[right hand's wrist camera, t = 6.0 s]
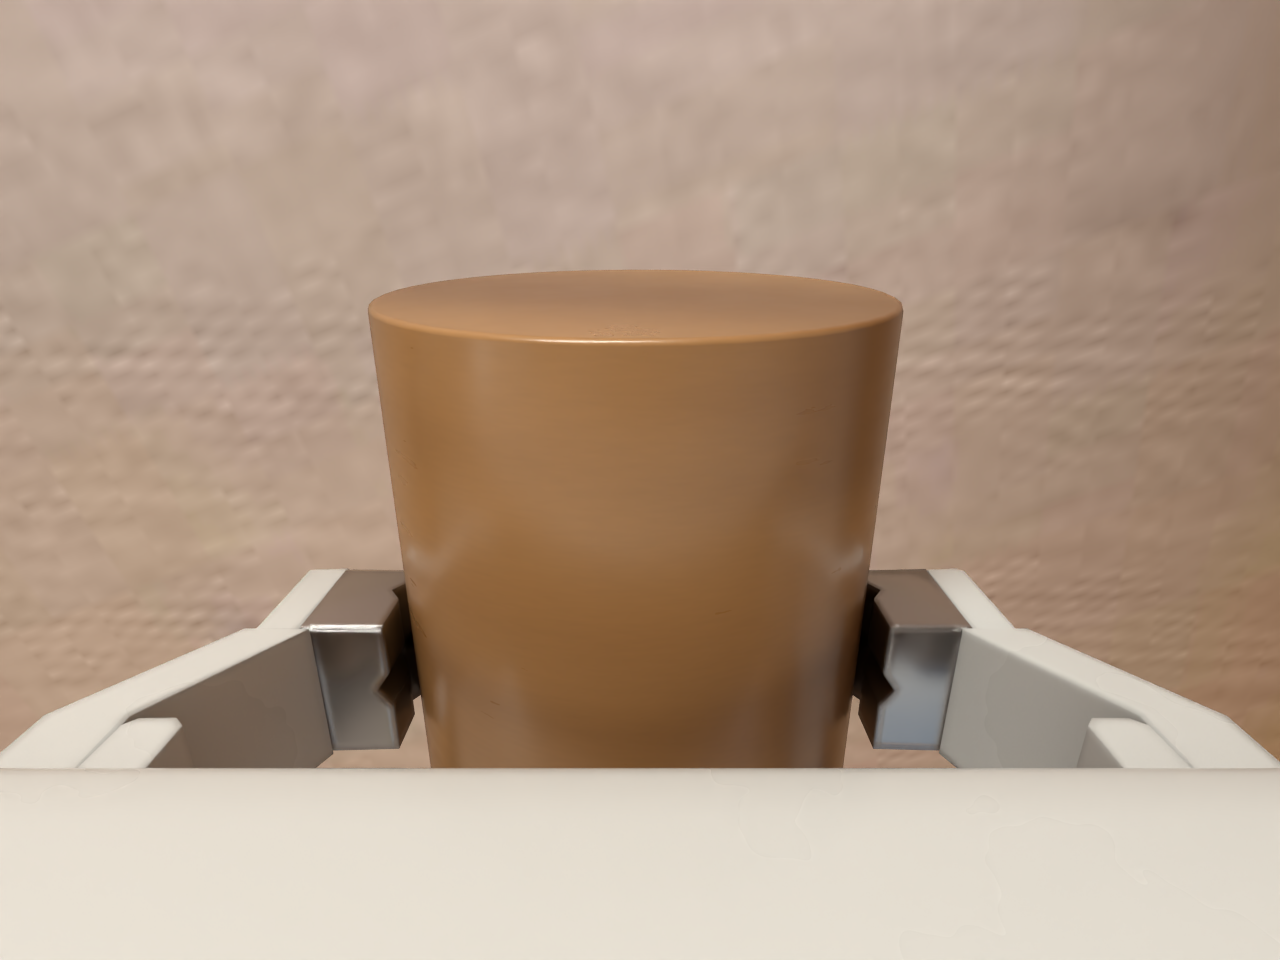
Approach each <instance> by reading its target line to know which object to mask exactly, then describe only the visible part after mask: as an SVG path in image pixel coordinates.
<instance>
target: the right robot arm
mask: <svg viewBox="0 0 1280 960" xmlns="http://www.w3.org/2000/svg"><path fill="white" fill-rule="evenodd" d="M420 695H421V692H420V684H419V677H418V670H417V663H416V655H415V648H414V641H413V634H412V626H411V619H410V612H409V605H408V598H407V590H406V583H405V576H404V570H355V569H353V570H349V569H318V570H310V571H309V572H308V573H307V574H306V575H305V576H304V577H303V578H302V579H301V580H300V581H299V583H298V584H297V585H296V586H295V587H294V588H293V589H292V590H291V591H290V592H289V593H288V595H287V596H286V597H285V598H284V599H283V600H282V601H281V602H280V603H279V604H278V605H277V607H276V608H275V609H274V610H273V611H272V612H271V613H270V614H269V615H268V616H267V617H266V619H265V620H264V621H263V622H262V623H261V624H260V625H259V626H258V627H257V628H256V629H242V630H240V631H238V632H236V633H233V634H231V635H229V636H226V637H224V638H222V639H219V640H217V641H215V642H212V643H210V644H208V645H205V646H203V647H201V648H199V649H196V650H194V651H192V652H189V653H187V654H185V655H182V656H180V657H178V658H175V659H173V660H171V661H168V662H166V663H164V664H162V665H159V666H157V667H155V668H152V669H150V670H148V671H145V672H143V673H141V674H138V675H136V676H134V677H131V678H129V679H127V680H124V681H122V682H120V683H118V684H115V685H113V686H111V687H108V688H106V689H104V690H101V691H99V692H97V693H94V694H92V695H90V696H87V697H85V698H83V699H81V700H78V701H76V702H74V703H71V704H69V705H67V706H64V707H62V708H60V709H57V710H55V711H53V712H50V713H48V714H46V715H44V716H43V717H42V718H40V719H39V720H38V721H37V722H36V723H35V724H33V725H32V726H31V727H30V728H29V729H28V730H26V731H25V732H24V733H23V734H22V735H21V736H19V737H18V738H17V739H16V740H15V741H14V742H12V743H11V744H10V745H9V746H8V747H6V748H5V749H4V750H3V751H2V752H1V753H0V960H1280V762H1279V761H1278V760H1277V759H1276V758H1275V757H1273V756H1272V755H1271V754H1270V753H1269V752H1268V751H1267V750H1265V749H1264V748H1263V747H1262V746H1261V745H1260V744H1259V743H1257V742H1256V741H1255V740H1254V739H1253V738H1252V737H1250V736H1249V735H1248V734H1247V733H1246V732H1245V731H1244V730H1242V729H1241V728H1240V727H1239V726H1238V725H1237V724H1236V723H1234V722H1233V721H1232V720H1231V719H1230V718H1229V717H1228V716H1226V715H1224V714H1221V713H1219V712H1217V711H1214V710H1212V709H1210V708H1208V707H1205V706H1203V705H1201V704H1198V703H1196V702H1194V701H1192V700H1189V699H1187V698H1185V697H1182V696H1180V695H1178V694H1176V693H1173V692H1171V691H1169V690H1166V689H1164V688H1162V687H1160V686H1157V685H1155V684H1153V683H1150V682H1148V681H1146V680H1144V679H1141V678H1139V677H1137V676H1134V675H1132V674H1130V673H1128V672H1125V671H1123V670H1121V669H1118V668H1116V667H1114V666H1112V665H1109V664H1107V663H1105V662H1102V661H1100V660H1098V659H1096V658H1093V657H1091V656H1089V655H1086V654H1084V653H1082V652H1080V651H1077V650H1075V649H1073V648H1070V647H1068V646H1066V645H1064V644H1061V643H1059V642H1057V641H1054V640H1052V639H1050V638H1048V637H1045V636H1043V635H1041V634H1038V633H1036V632H1034V631H1032V630H1029V629H1016V628H1015V627H1014V626H1013V625H1012V624H1011V623H1010V622H1009V621H1008V620H1007V618H1006V617H1005V616H1004V615H1003V614H1002V613H1001V612H1000V611H999V610H998V608H997V607H996V606H995V605H994V604H993V603H992V602H991V601H990V599H989V598H988V597H987V596H986V595H985V594H984V593H983V592H982V591H981V589H980V588H979V587H978V586H977V585H976V584H975V583H974V582H973V581H972V579H971V578H970V577H969V576H968V575H967V574H966V573H965V572H964V571H962V570H959V569H934V570H926V569H909V570H869V574H868V582H867V589H866V597H865V604H864V612H863V620H862V627H861V635H860V642H859V650H858V657H857V665H856V672H855V680H854V687H853V695H854V696H855V697H857V698H858V699H860V704H859V712H858V715H859V717H860V719H861V722H862V724H863V726H864V728H865V731H866V733H867V735H868V737H869V740H870V742H871V744H872V747H873V749H905V750H940V751H939V754H941V755H942V756H943V757H944V758H945V759H947V760H948V761H949V762H950V763H952V764H953V765H954V766H955V767H956V768H316V767H317V766H319V765H320V764H321V763H322V762H324V761H325V760H326V759H327V758H328V757H330V756H331V755H332V754H333V750H366V749H399V748H400V746H401V743H402V741H403V739H404V737H405V735H406V732H407V730H408V728H409V726H410V723H411V721H412V719H413V717H414V715H415V712H414V704H413V700H414V699H415V698H417V697H418V696H420Z"/></svg>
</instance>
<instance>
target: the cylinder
mask: <svg viewBox="0 0 1280 960" xmlns="http://www.w3.org/2000/svg"><path fill="white" fill-rule="evenodd" d="M368 315H369V323H370V330H371V337H372V344H373V352H374V359H375V366H376V373H377V381H378V388H379V395H380V402H381V409H382V417H383V424H384V431H385V438H386V446H387V453H388V460H389V467H390V475H391V482H392V489H393V496H394V504H395V511H396V518H397V525H398V532H399V540H400V547H401V554H402V561H403V569H404V576H405V583H406V590H407V598H408V605H409V612H410V619H411V626H412V634H413V641H414V648H415V655H416V663H417V670H418V677H419V684H420V692H421V699H422V706H423V713H424V720H425V728H426V735H427V742H428V749H429V757H430V764H431V768H843V763H844V755H845V748H846V740H847V733H848V725H849V718H850V710H851V703H852V695H853V687H854V680H855V672H856V665H857V657H858V650H859V642H860V635H861V627H862V620H863V612H864V604H865V597H866V589H867V582H868V574H869V567H870V559H871V552H872V544H873V537H874V529H875V522H876V514H877V506H878V499H879V491H880V484H881V476H882V469H883V461H884V454H885V446H886V439H887V431H888V423H889V416H890V408H891V401H892V393H893V386H894V378H895V371H896V363H897V356H898V348H899V340H900V333H901V325H902V318H903V307H902V304H901V302H900V301H899V300H898V299H896V298H895V297H893V296H890V295H888V294H886V293H884V292H881V291H877V290H874V289H871V288H867V287H862V286H858V285H853V284H847V283H841V282H835V281H828V280H820V279H812V278H803V277H793V276H782V275H770V274H756V273H739V272H718V271H689V270H587V271H557V272H536V273H520V274H506V275H493V276H482V277H472V278H463V279H455V280H447V281H440V282H433V283H427V284H422V285H417V286H411V287H407V288H403V289H399V290H396V291H393V292H390V293H387V294H384V295H382V296H380V297H378V298H376V299H374V300H373V301H372V302H371V303H370V304H369V307H368Z"/></svg>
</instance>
